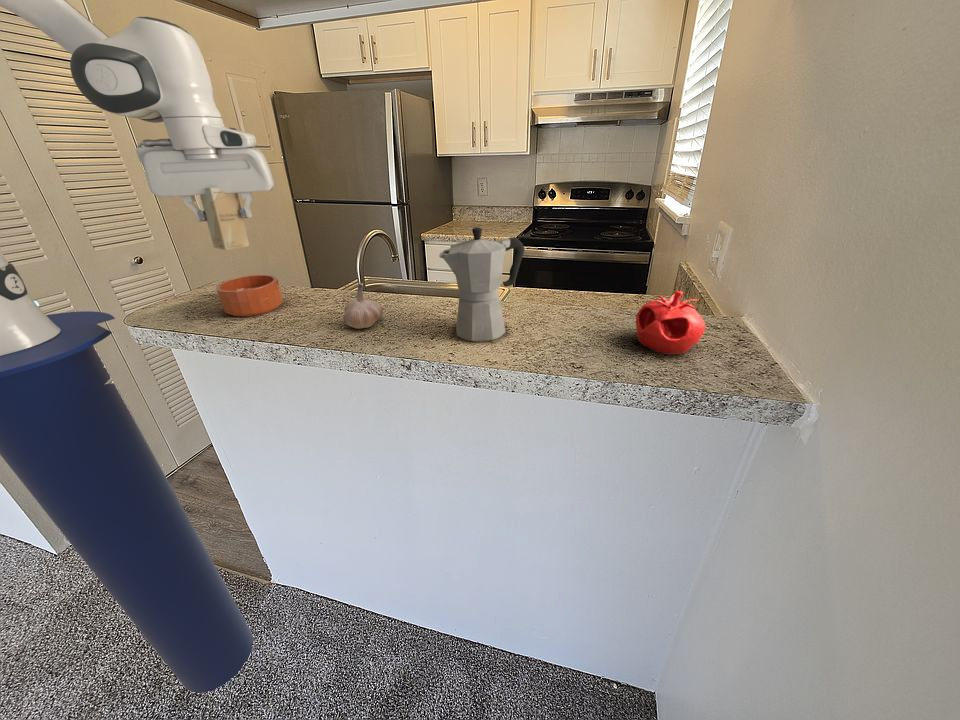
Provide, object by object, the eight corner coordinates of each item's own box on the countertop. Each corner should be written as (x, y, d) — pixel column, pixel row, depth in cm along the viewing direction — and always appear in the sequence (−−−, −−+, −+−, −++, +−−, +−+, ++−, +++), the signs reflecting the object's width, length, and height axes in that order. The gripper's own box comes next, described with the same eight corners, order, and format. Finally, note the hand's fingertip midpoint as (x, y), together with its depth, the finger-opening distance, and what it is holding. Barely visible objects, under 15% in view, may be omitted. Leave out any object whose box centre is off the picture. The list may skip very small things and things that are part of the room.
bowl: (217, 320, 81) (208, 294, 78) (233, 301, 90) (225, 277, 88) (278, 313, 83) (271, 288, 80) (287, 295, 93) (281, 272, 90)
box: (225, 251, 77) (208, 188, 72) (213, 248, 79) (195, 186, 74) (251, 246, 81) (237, 186, 76) (239, 243, 83) (224, 185, 78)
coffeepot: (457, 350, 66) (450, 238, 57) (436, 329, 73) (427, 227, 65) (536, 330, 72) (540, 225, 63) (509, 313, 79) (509, 217, 71)
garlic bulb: (378, 313, 81) (371, 274, 77) (391, 325, 76) (385, 284, 72) (340, 322, 78) (332, 282, 74) (352, 335, 72) (343, 292, 69)
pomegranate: (656, 327, 71) (666, 276, 67) (711, 347, 64) (727, 291, 60) (619, 342, 67) (627, 288, 62) (674, 366, 59) (688, 307, 55)
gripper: (122, 139, 66) (157, 226, 73) (257, 135, 70) (278, 217, 77) (140, 139, 72) (171, 220, 78) (264, 135, 76) (284, 213, 83)
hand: (225, 219), depth 78 cm, fingers closed on box, 6 cm apart
